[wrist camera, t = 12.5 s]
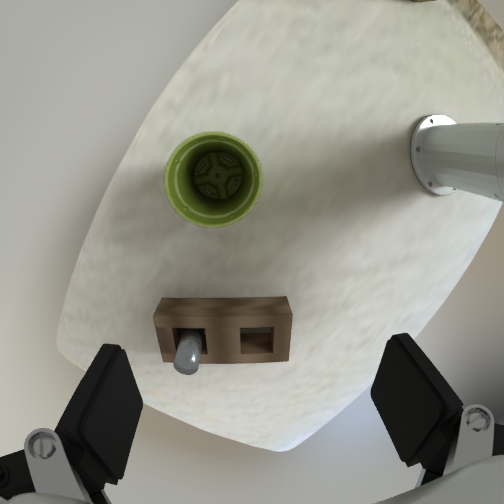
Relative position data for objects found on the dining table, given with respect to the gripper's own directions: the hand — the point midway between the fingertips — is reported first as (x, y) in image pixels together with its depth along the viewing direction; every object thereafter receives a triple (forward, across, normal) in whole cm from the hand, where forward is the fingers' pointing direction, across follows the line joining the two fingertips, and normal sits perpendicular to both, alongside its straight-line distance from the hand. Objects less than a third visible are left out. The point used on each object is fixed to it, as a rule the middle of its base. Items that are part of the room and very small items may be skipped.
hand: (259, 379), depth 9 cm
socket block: (+28, +3, +16) cm, 33 cm away
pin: (+28, +7, +16) cm, 33 cm away
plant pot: (+28, +3, -5) cm, 29 cm away
